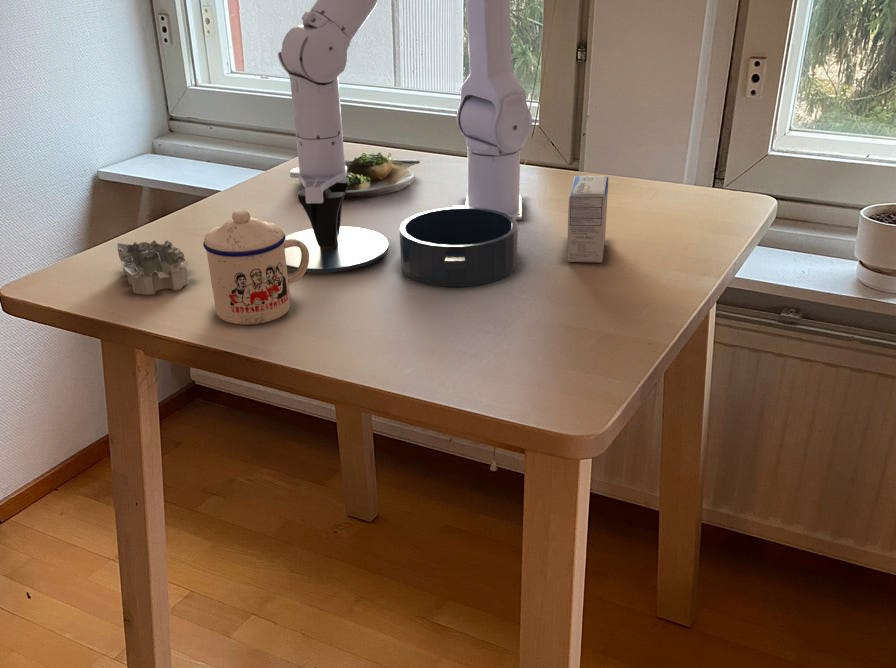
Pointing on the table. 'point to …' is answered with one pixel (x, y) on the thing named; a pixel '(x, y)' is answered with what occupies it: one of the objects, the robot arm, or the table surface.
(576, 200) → the medicine box
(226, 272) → the teacup with lid
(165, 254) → the egg carton
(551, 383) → the table surface
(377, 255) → the pot lid
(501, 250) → the pot
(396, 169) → the salad plate
